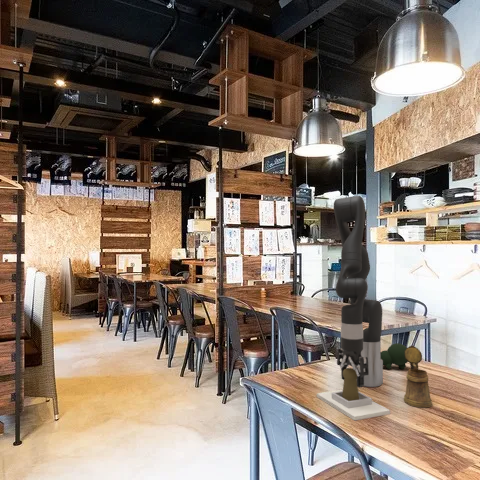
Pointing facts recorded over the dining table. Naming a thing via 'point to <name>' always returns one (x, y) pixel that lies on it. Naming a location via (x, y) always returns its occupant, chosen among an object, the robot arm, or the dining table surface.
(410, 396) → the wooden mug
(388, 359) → the toy figurine
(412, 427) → the dining table surface
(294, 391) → the dining table surface
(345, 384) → the olive tall rounded piece
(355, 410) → the board
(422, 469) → the dining table surface
